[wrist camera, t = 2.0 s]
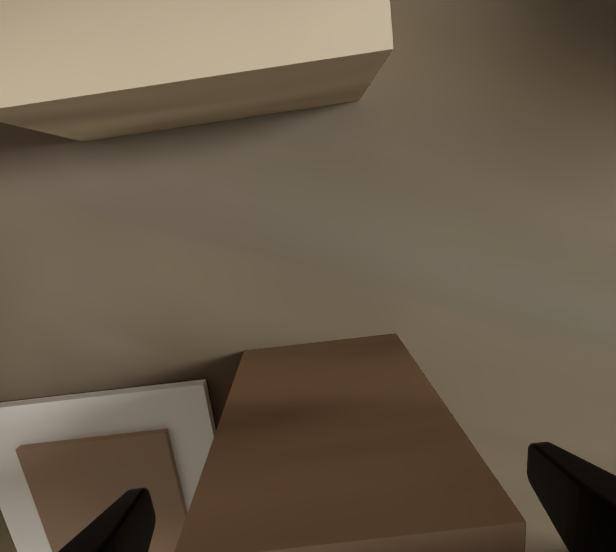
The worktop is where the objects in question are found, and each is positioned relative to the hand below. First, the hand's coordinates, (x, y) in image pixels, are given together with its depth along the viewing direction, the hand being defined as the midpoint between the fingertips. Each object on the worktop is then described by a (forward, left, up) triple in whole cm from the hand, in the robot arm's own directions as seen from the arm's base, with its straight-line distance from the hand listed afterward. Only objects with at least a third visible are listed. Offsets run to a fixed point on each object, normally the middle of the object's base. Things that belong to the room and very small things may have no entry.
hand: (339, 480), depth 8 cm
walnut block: (0, 0, -3) cm, 3 cm away
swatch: (-2, +7, -3) cm, 8 cm away
